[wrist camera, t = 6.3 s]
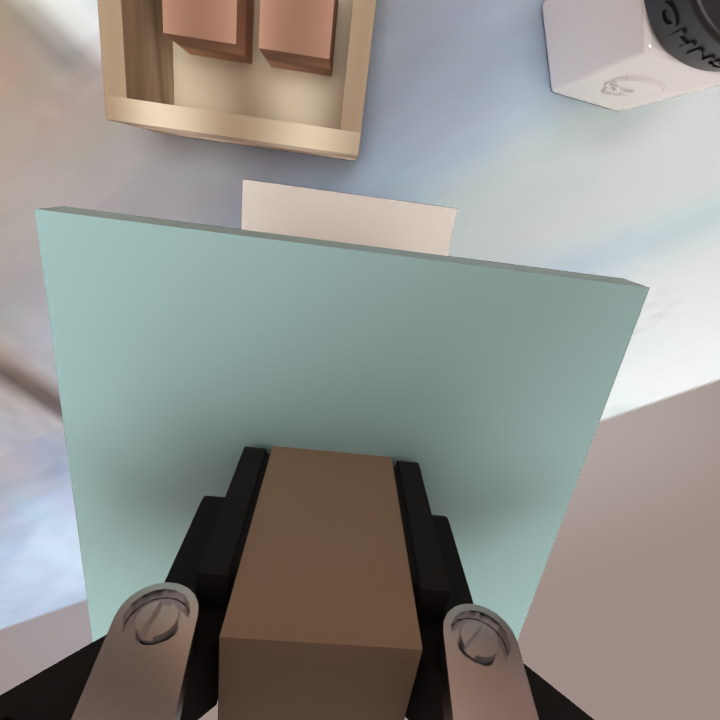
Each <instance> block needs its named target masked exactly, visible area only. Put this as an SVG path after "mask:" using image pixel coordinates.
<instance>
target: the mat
mask: <svg viewBox="0 0 720 720" xmlns="http://www.w3.org/2000/svg"><path fill="white" fill-rule="evenodd" d="M456 213H457V209H456V208H449V207H441V206H434V205H427V204H420V203H412V202H405V201H398V200H390V199H383V198H376V197H369V196H361V195H354V194H347V193H339V192H332V191H325V190H318V189H310V188H303V187H296V186H288V185H281V184H274V183H267V182H259V181H252V180H245V179H243V190H242V224H241V229H243V230H251V231H258V232H266V233H274V234H282V235H289V236H297V237H305V238H313V239H320V240H328V241H336V242H343V243H351V244H359V245H367V246H374V247H382V248H390V249H398V250H405V251H413V252H421V253H429V254H436V255H444V256H448V253H449V248H450V243H451V238H452V233H453V228H454V223H455V218H456Z"/></svg>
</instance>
